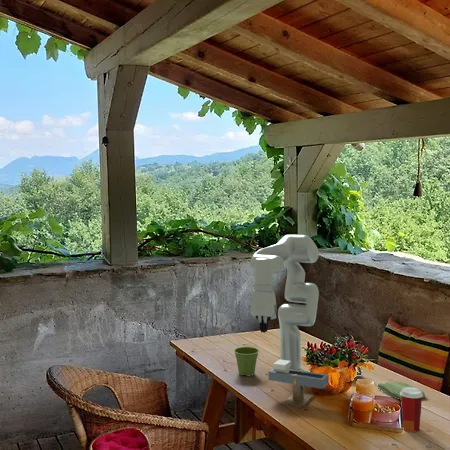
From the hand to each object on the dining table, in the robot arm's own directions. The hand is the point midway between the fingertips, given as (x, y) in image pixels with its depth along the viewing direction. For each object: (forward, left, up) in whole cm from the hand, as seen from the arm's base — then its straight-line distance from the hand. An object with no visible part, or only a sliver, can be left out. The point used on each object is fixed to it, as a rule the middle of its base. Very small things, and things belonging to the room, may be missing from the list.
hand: (263, 331), depth 238 cm
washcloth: (+16, +55, -28) cm, 63 cm away
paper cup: (+47, +38, -27) cm, 66 cm away
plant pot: (-28, +2, -27) cm, 39 cm away
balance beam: (+10, +11, -27) cm, 31 cm away
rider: (+6, +6, -17) cm, 18 cm away
